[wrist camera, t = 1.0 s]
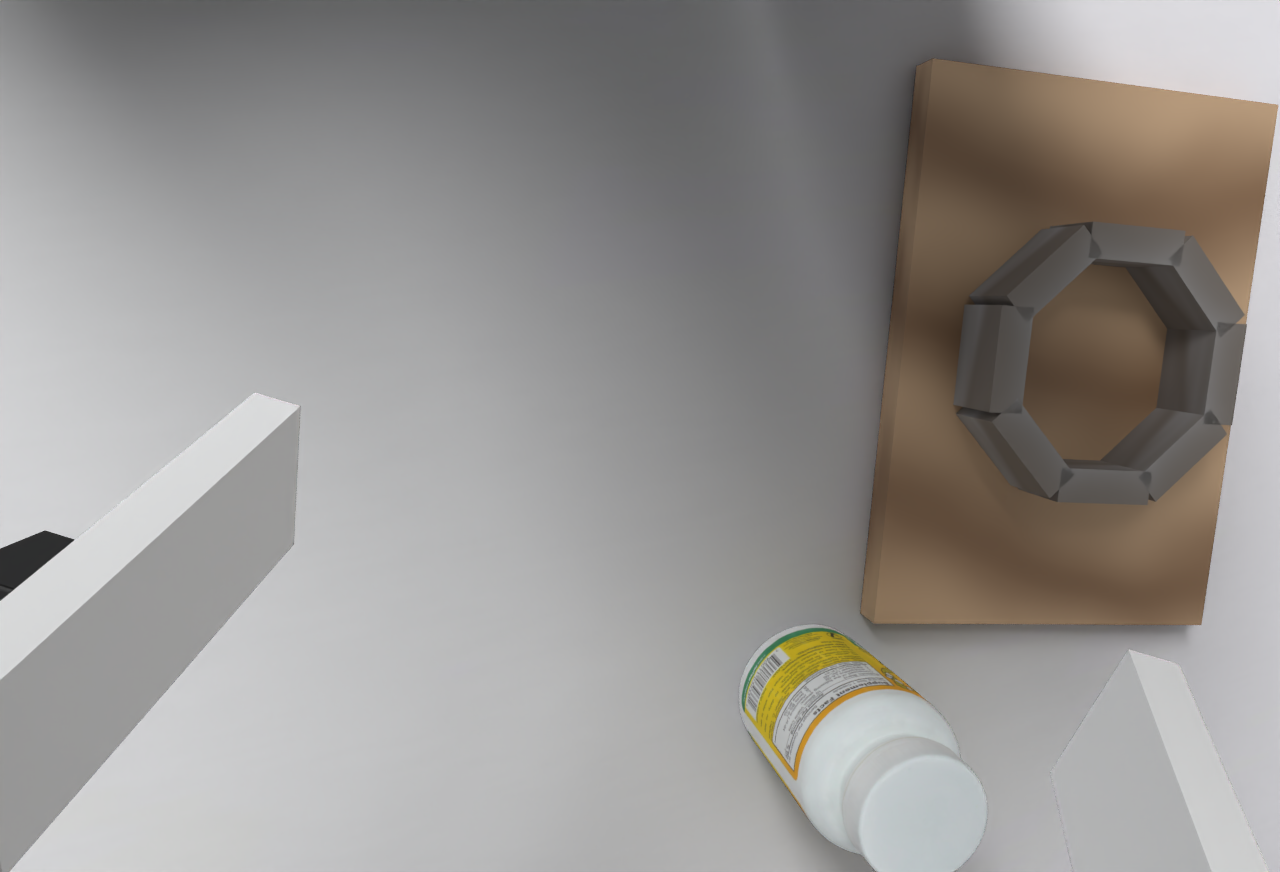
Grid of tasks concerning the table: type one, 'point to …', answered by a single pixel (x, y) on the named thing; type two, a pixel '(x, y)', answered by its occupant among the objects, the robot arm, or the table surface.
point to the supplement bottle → (862, 752)
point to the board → (1062, 349)
